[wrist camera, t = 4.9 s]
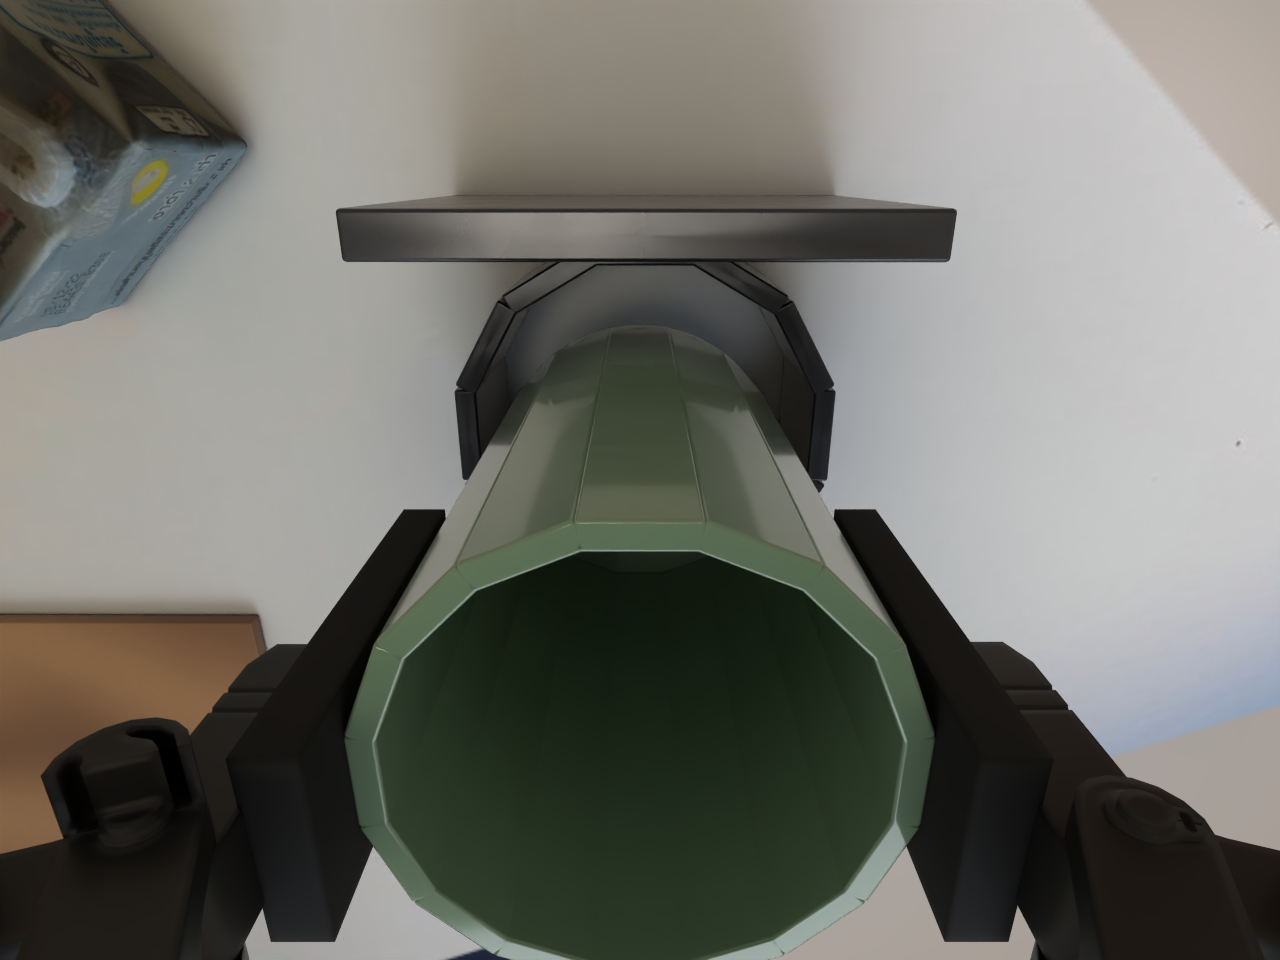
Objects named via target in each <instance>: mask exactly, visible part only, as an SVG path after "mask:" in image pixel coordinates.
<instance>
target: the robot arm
mask: <svg viewBox="0 0 1280 960" xmlns="http://www.w3.org/2000/svg"><path fill="white" fill-rule="evenodd" d="M445 520H446V517H445V509H404V510H403V512H402V513H401V514H400V516H399V517H398V519H397V520H396V521H395V523H394V524H393V526H392V527H391V528H390V530H389V531H388V533H387V534H386V535H385V537H384V538H383V540H382V541H381V542H380V544H379V545H378V547H377V548H376V549H375V551H374V552H373V553H372V555H371V556H370V558H369V559H368V560H367V562H366V563H365V565H364V566H363V567H362V569H361V570H360V572H359V573H358V574H357V576H356V577H355V579H354V580H353V581H352V583H351V584H350V586H349V587H348V588H347V590H346V591H345V593H344V594H343V595H342V597H341V598H340V600H339V601H338V602H337V604H336V605H335V607H334V608H333V609H332V611H331V612H330V614H329V615H328V616H327V618H326V619H325V620H324V622H323V623H322V625H321V626H320V627H319V629H318V630H317V632H316V633H315V634H314V636H313V637H312V639H311V640H310V641H309V643H308V644H277V645H275V646H274V647H273V648H271V649H270V650H268V651H267V652H265V653H264V654H262V655H261V656H259V657H258V658H256V659H255V660H253V661H252V662H250V663H249V664H247V665H246V667H245V668H244V669H243V670H242V672H241V673H240V674H239V675H238V676H237V678H236V679H235V680H234V681H233V683H232V684H231V685H230V686H229V688H228V692H227V693H224V694H223V695H222V696H221V697H220V699H219V700H218V701H217V702H216V704H215V705H214V706H213V707H212V712H211V713H207V715H206V716H205V717H204V718H203V720H202V721H201V722H200V723H199V725H198V726H197V727H196V728H195V729H194V731H193V732H192V733H191V734H190V735H189V731H188V729H187V728H186V727H184V726H183V725H182V724H180V723H179V722H178V721H176V720H171V719H165V718H159V717H153V718H144V719H134V720H129V721H126V722H122V723H119V724H116V725H112V726H109V727H106V728H103V729H101V730H99V731H97V732H95V733H93V734H91V735H88V736H86V737H84V738H82V739H80V740H78V741H76V742H75V743H74V744H72V745H71V746H70V747H68V748H67V749H66V750H64V751H63V752H62V753H60V754H59V755H58V756H56V757H55V758H54V759H53V760H52V762H51V763H50V764H49V766H48V767H47V768H46V770H45V771H44V772H43V773H42V775H41V779H42V782H43V784H44V787H45V790H46V793H47V795H48V798H49V801H50V804H51V806H52V809H53V812H54V815H55V817H56V820H57V823H58V825H59V828H60V831H61V834H62V836H63V839H60V840H57V841H53V842H49V843H45V844H41V845H36V846H32V847H28V848H24V849H19V850H15V851H11V852H7V853H2V854H0V960H249V956H248V951H247V948H246V944H245V941H246V939H247V937H248V935H249V933H250V931H251V929H252V927H253V925H254V923H255V921H256V919H257V917H258V915H259V914H260V912H261V910H262V908H263V912H264V916H265V920H266V924H267V928H268V932H269V936H270V940H271V942H335V940H336V938H337V935H338V933H339V930H340V928H341V925H342V923H343V920H344V918H345V915H346V913H347V910H348V908H349V905H350V903H351V900H352V898H353V895H354V893H355V890H356V888H357V885H358V883H359V880H360V878H361V875H362V873H363V870H364V868H365V865H366V863H367V860H368V858H369V855H370V853H371V850H372V848H373V845H372V844H371V843H370V841H369V840H368V838H367V837H366V836H365V834H364V833H363V831H362V830H361V826H360V825H359V822H358V817H357V811H356V805H355V800H354V794H353V788H352V783H351V777H350V771H349V766H348V760H347V754H346V749H345V743H344V736H345V735H344V731H345V728H346V725H347V722H348V719H349V716H350V713H351V710H352V707H353V704H354V701H355V698H356V695H357V692H358V689H359V687H360V684H361V681H362V678H363V675H364V672H365V669H366V666H367V663H368V660H369V657H370V654H371V651H372V648H373V645H374V643H375V642H376V640H377V638H378V636H379V635H380V633H381V631H382V629H383V628H384V626H385V624H386V622H387V621H388V619H389V617H390V615H391V614H392V612H393V610H394V608H395V607H396V605H397V603H398V602H399V600H400V598H401V596H402V595H403V593H404V591H405V589H406V588H407V586H408V584H409V582H410V581H411V579H412V577H413V575H414V574H415V572H416V570H417V568H418V567H419V565H420V563H421V561H422V560H423V558H424V556H425V554H426V553H427V551H428V549H429V548H430V546H431V544H432V542H433V541H434V539H435V537H436V535H437V534H438V532H439V530H440V528H441V527H442V525H443V523H444V521H445ZM834 521H835V522H836V524H837V526H838V528H839V529H840V531H841V533H842V535H843V536H844V538H845V540H846V542H847V543H848V545H849V547H850V549H851V550H852V552H853V554H854V555H855V557H856V559H857V561H858V562H859V564H860V566H861V568H862V569H863V571H864V573H865V575H866V576H867V578H868V580H869V582H870V583H871V585H872V587H873V589H874V590H875V592H876V594H877V596H878V597H879V599H880V601H881V603H882V604H883V606H884V608H885V610H886V611H887V613H888V615H889V617H890V618H891V620H892V622H893V624H894V625H895V627H896V629H897V631H898V632H899V634H900V636H901V637H902V639H903V641H904V643H905V644H906V647H907V650H908V653H909V656H910V659H911V662H912V665H913V668H914V671H915V674H916V677H917V680H918V683H919V686H920V688H921V691H922V694H923V697H924V700H925V703H926V706H927V709H928V712H929V715H930V718H931V721H932V724H933V727H934V730H935V745H934V751H933V756H932V762H931V768H930V773H929V779H928V785H927V790H926V796H925V802H924V807H923V813H922V819H921V824H920V826H919V828H918V831H917V832H916V833H915V835H914V836H913V837H912V839H911V840H910V842H909V843H908V844H907V849H908V851H909V854H910V856H911V859H912V861H913V864H914V866H915V869H916V871H917V874H918V876H919V879H920V881H921V884H922V886H923V889H924V891H925V894H926V896H927V899H928V901H929V904H930V906H931V909H932V911H933V914H934V916H935V919H936V921H937V924H938V926H939V929H940V931H941V934H942V936H943V939H944V941H945V942H1008V941H1009V937H1010V933H1011V929H1012V925H1013V921H1014V917H1015V913H1016V909H1017V905H1018V907H1019V909H1020V911H1021V913H1022V915H1023V916H1024V918H1025V920H1026V922H1027V924H1028V926H1029V928H1030V930H1031V932H1032V934H1033V936H1034V938H1035V944H1034V948H1033V951H1032V955H1031V959H1030V960H1280V851H1279V850H1275V849H1270V848H1266V847H1262V846H1257V845H1253V844H1249V843H1244V842H1240V841H1236V840H1232V839H1227V838H1224V837H1221V836H1218V835H1215V834H1214V833H1213V831H1212V830H1211V828H1210V827H1209V825H1208V823H1207V822H1206V820H1205V819H1204V818H1203V817H1202V816H1201V815H1199V814H1198V813H1197V812H1196V811H1195V810H1194V809H1192V808H1191V807H1190V806H1189V805H1188V804H1186V803H1185V802H1184V801H1183V800H1181V799H1179V798H1177V797H1175V796H1174V795H1172V794H1170V793H1168V792H1166V791H1165V790H1163V789H1161V788H1159V787H1157V786H1154V785H1151V784H1148V783H1145V782H1142V781H1139V780H1136V779H1133V778H1128V777H1126V776H1125V774H1124V773H1123V772H1122V771H1121V770H1120V768H1119V767H1118V766H1117V765H1116V763H1115V762H1114V761H1113V760H1112V758H1111V757H1110V756H1109V755H1108V754H1107V752H1106V751H1105V750H1104V749H1103V747H1102V746H1101V745H1100V744H1099V743H1098V741H1097V740H1096V739H1095V738H1094V736H1093V735H1092V734H1091V733H1090V732H1089V730H1088V729H1087V728H1086V727H1085V725H1084V724H1083V723H1082V722H1081V720H1080V719H1079V718H1078V717H1077V716H1076V714H1075V713H1074V712H1073V711H1072V710H1068V705H1067V703H1066V702H1065V701H1064V700H1063V698H1062V697H1061V696H1060V695H1059V694H1058V692H1057V691H1056V690H1052V685H1051V684H1050V683H1049V681H1048V680H1047V679H1046V678H1045V676H1044V675H1043V674H1042V673H1041V671H1040V670H1039V669H1038V668H1037V667H1036V665H1035V664H1034V663H1033V662H1032V661H1030V660H1029V659H1027V658H1026V657H1024V656H1023V655H1021V654H1020V653H1018V652H1017V651H1015V650H1014V649H1013V648H1011V647H1010V646H1008V645H1007V644H1005V643H1004V642H970V641H969V639H968V638H967V637H966V635H965V634H964V632H963V631H962V630H961V628H960V627H959V625H958V624H957V623H956V621H955V620H954V618H953V617H952V616H951V614H950V613H949V611H948V610H947V609H946V607H945V606H944V604H943V603H942V602H941V600H940V599H939V597H938V596H937V595H936V593H935V592H934V591H933V589H932V588H931V586H930V585H929V584H928V582H927V581H926V579H925V578H924V577H923V575H922V574H921V572H920V571H919V570H918V568H917V567H916V565H915V564H914V563H913V561H912V560H911V558H910V557H909V556H908V554H907V553H906V551H905V550H904V549H903V547H902V546H901V544H900V543H899V542H898V540H897V539H896V537H895V536H894V535H893V533H892V532H891V530H890V529H889V528H888V526H887V525H886V523H885V522H884V521H883V519H882V518H881V517H880V515H879V514H878V512H877V511H876V510H875V509H835V512H834Z"/></svg>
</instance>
